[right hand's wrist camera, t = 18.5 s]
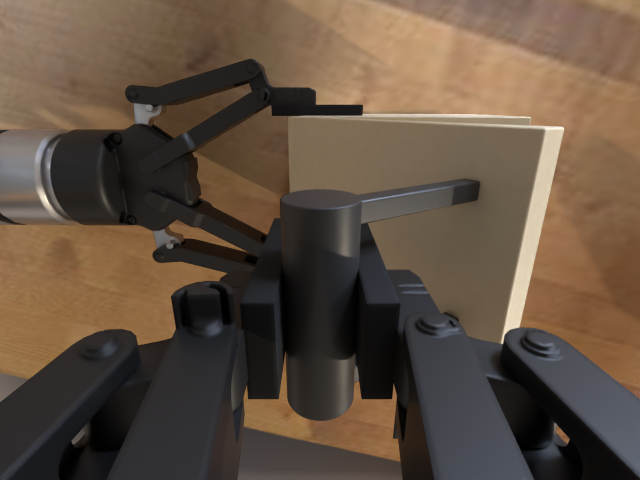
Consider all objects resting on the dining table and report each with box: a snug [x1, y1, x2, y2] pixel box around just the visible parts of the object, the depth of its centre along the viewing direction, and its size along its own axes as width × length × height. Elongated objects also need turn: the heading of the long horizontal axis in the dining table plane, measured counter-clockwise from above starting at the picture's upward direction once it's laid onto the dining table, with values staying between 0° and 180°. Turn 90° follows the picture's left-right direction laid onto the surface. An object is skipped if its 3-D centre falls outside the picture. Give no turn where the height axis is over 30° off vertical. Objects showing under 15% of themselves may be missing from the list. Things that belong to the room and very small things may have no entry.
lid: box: [280, 117, 564, 421], centre depth 17 cm, size 16×10×8 cm
